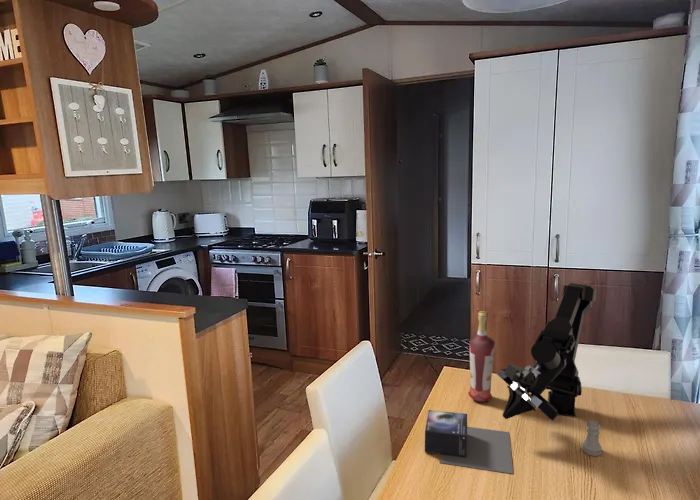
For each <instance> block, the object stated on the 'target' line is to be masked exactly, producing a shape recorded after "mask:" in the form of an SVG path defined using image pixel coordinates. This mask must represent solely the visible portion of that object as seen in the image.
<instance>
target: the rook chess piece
mask: <svg viewBox="0 0 700 500" xmlns="http://www.w3.org/2000/svg"><path fill="white" fill-rule="evenodd" d="M586 427H587V429H586V431H587V435H586V437H585V439H584V440H583V442H582V445H581V449H582V451H583V452H584V453H585V454H586V455H588V456H591V457H598V456H600V455H601V454H602V450H603V449H602V446H601V443H600V440H599V435H600V430H601V429H602V426H601V425H600V421H599V422H598V420H595V421H594V419H590V420H588V422H586Z"/></svg>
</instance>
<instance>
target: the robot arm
mask: <svg viewBox="0 0 700 500" xmlns="http://www.w3.org/2000/svg"><path fill="white" fill-rule="evenodd" d="M562 287H563V288H562V294H561V296H562V298H561V300H560V304H559V306H558V308H557V312H556V314H555V316H554V318H553V319H551V320H549V321H547V322H546V324H545V327H544V328H543V329H542V330H541V331H540V332H539V335H538V337H537V338H536V340H535V342H534V344H533V345H532V346H531V349H530V352H531V353H530V354H531V357H532V358H533V359H534V361H535V363H534V364H533V366H532V365H530V364H528V365H526V366H525V367H524V368H523V367H521V366H519V365H517V364H513V363H508V365H507V366H506V368H501V369H500V370H499V371H498V372H497V373H496V375H497V376H498V377H499V378H500V379H502V380H503V381H504V382H505V384H507V389H508V393H509V394H508V395H509V396H508V398H507V402H506V404H505V407H504V410H503V412H502V417H503V418H504V419H505V420H508V419H510V418H513V417H515V416H518V415H521V414H523V413H528V412H531V411H534V412H536V411H537V409H539V410H540V411H541V412H542V413H543V414H544V416H545V417H547V418H548V419H549V420H550V421H551V422H553V421H554V420H555V419H556V418H557V416H558V415H561V416H571V417H575V416H576V412H575V408H576V407H575V406H576V398H578V397H579V396H582V389H583V387H582V382H581V378H580V376H579V370H578V367H577V365H576V362H575V361H576V357H577V350H578V346H579V341H580V336H581V332H582V327H583V322H584V317H585V315H586V314H587V313H588V312H589V311H590V310H591V309H592V307H593V304H594V302H596V300H597V296H598V295H597V294H598V292H597V291H598V290H597V289H594V286H593V285H588V284H582V283H577V282H576V283H575V282H570V283H568V284H563V286H562ZM546 390H549V391H548V392H547V399H545V398H544V396H542V394H543V392H544V391H546ZM536 408H537V409H536Z"/></svg>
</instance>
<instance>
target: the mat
mask: <svg viewBox="0 0 700 500" xmlns="http://www.w3.org/2000/svg"><path fill="white" fill-rule="evenodd" d="M510 438H511V437H510V432H509V431H503V430H497V429H487V428H482V427H481V428H480V427H472V426H467V457H460V456H453V455H446V454H440V456H439V457H440V458H439V464H444V465H449V466H450V465H452V466H458V467H464V468H468V469H469V468H470V469H478V470H483V471H488V472H489V471H490V472H495V473H496V472H498V473H501V474H502V473H503V474H509V475H514V470H513V469H514V468H513V459H512V450H511V440H510Z"/></svg>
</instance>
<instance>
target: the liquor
mask: <svg viewBox="0 0 700 500" xmlns="http://www.w3.org/2000/svg"><path fill="white" fill-rule="evenodd" d="M477 314H478V315H477V319H478V327H477V333H476V335H474V336H472V337H471V338H470V339H469V341H468V342H469V379H470V380H469V381H470V383H469V385H470V387H469V392H468V395H469V397H470V398H471V399H472V400H473V401H475V402H477V403H486V402H488V401H489V400H491V399H492V397H493V395H492V393H491V391H492V376H493V365H494V364H493V363H494V355H495V340H494V339H493V338H491V337H490V336H488V327H487V322H488V317H489V316H488V314H489V313H488V311H486V310H480V311H478V313H477Z"/></svg>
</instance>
